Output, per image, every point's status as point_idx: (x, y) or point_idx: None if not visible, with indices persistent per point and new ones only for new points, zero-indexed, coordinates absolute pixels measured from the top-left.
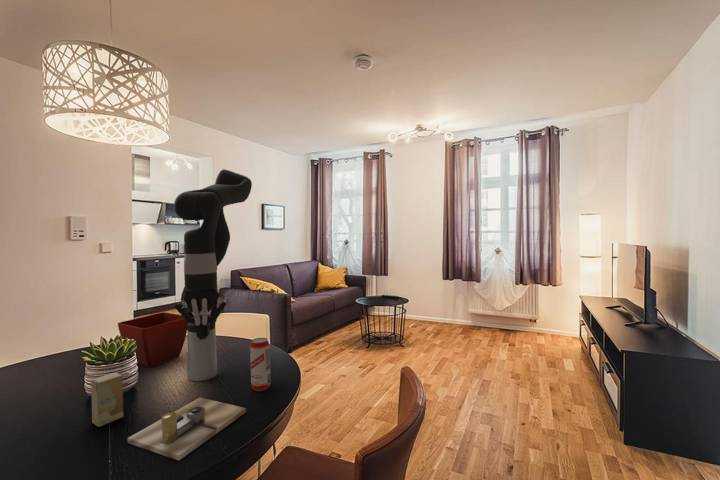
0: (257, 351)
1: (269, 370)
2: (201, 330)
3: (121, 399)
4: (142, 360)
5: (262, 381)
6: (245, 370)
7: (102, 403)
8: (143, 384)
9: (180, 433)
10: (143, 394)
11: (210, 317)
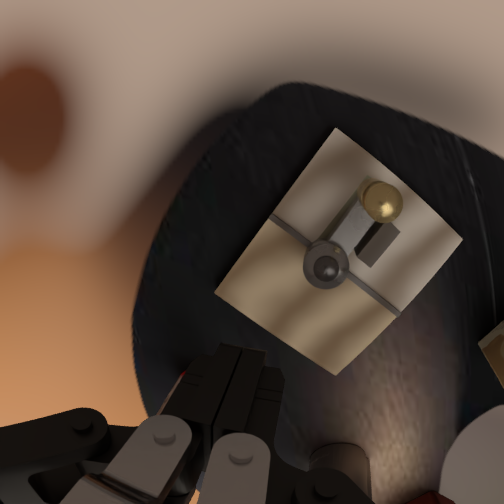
0: None
1: (165, 399)
2: (226, 392)
3: (494, 363)
4: (443, 500)
5: None
6: None
7: None
8: (445, 447)
9: (351, 203)
10: (446, 416)
11: (95, 461)
